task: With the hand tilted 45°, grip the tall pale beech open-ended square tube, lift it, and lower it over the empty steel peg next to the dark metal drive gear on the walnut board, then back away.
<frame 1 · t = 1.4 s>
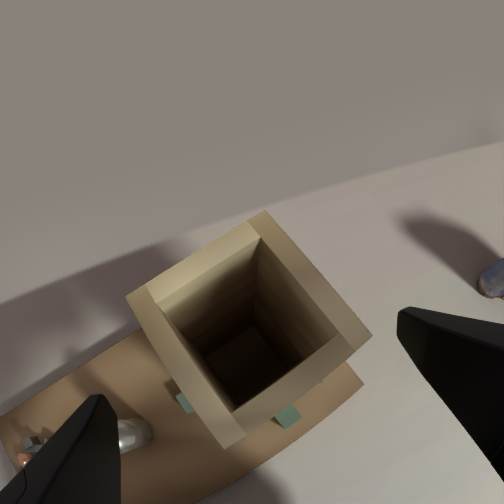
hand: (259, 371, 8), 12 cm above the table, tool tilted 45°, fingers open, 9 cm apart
drive gear: (62, 473, 15), resting on gear board
gear board: (151, 426, 17), on the table
peg: (145, 430, 17), resting on gear board
open-ended square tube: (246, 364, 18), point 1 cm above the table, touching gear board
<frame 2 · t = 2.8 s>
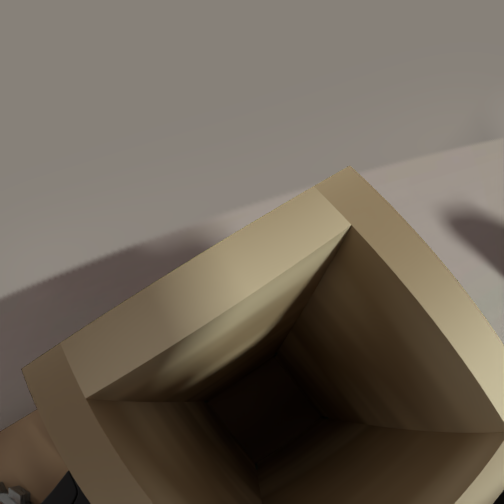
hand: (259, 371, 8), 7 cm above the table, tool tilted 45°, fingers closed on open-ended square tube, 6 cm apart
gear board: (138, 483, 11), on the table
open-ended square tube: (265, 411, 12), point 1 cm above the table, touching gear board, gripper
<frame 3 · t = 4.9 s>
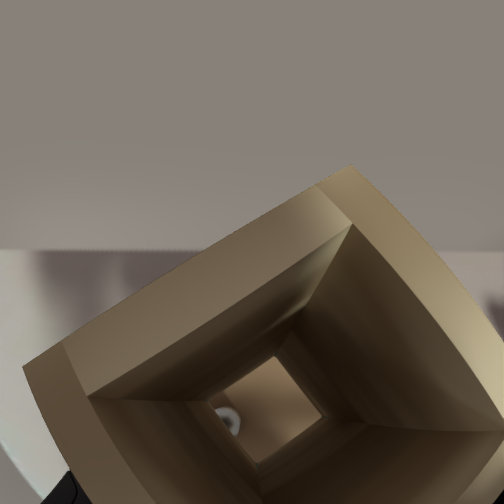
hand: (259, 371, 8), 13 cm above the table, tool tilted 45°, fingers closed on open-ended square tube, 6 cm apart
gear board: (235, 416, 19), on the table
peg: (228, 418, 19), resting on gear board
open-ended square tube: (265, 410, 12), point 8 cm above the table, touching gripper
when the fingers open (8 cm above the table, at t = 6.9 s): open-ended square tube drops 2 cm, resting on gear board.
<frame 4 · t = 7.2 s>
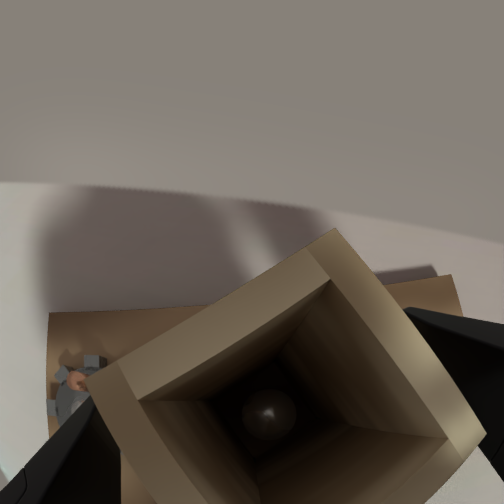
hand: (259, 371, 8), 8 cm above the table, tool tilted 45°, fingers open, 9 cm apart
drive gear: (110, 412, 14), resting on gear board
gear board: (270, 407, 15), on the table
peg: (260, 408, 15), resting on gear board
open-ended square tube: (264, 410, 14), point 1 cm above the table, touching gear board
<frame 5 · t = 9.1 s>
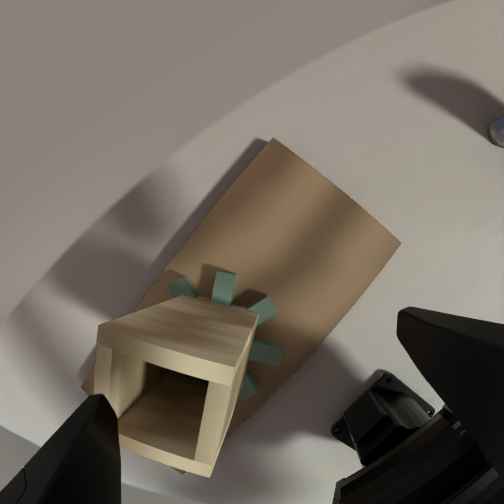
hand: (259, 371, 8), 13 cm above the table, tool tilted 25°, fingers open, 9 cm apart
gear board: (222, 328, 22), on the table
open-ended square tube: (216, 337, 21), point 1 cm above the table, touching gear board
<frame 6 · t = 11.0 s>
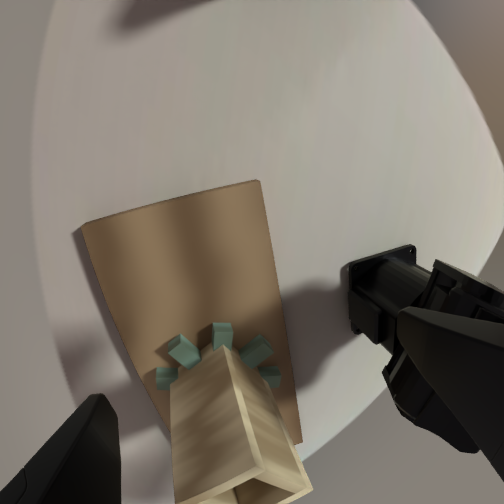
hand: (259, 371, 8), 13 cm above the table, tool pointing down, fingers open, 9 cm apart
gear board: (213, 361, 23), on the table
open-ended square tube: (217, 374, 22), point 1 cm above the table, touching gear board
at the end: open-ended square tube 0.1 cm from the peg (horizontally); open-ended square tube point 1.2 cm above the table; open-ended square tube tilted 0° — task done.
